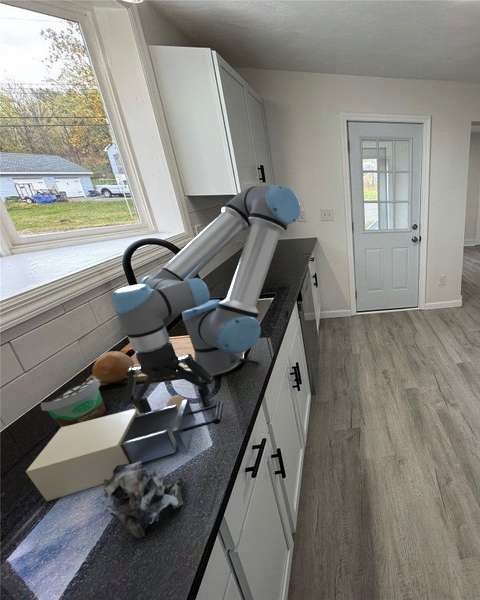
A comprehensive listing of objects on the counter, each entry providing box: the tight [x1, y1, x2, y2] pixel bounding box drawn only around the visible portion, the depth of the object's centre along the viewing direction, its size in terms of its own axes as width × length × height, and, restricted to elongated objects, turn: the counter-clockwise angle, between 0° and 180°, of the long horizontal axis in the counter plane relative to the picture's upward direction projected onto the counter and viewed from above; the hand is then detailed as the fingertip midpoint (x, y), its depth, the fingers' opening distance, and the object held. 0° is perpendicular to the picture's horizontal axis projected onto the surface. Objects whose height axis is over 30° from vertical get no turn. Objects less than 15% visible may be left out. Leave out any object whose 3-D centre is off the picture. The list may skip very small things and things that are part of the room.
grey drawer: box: [120, 398, 224, 465], centre depth 76 cm, size 21×11×7 cm, turn 113°
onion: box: [91, 350, 135, 384], centre depth 102 cm, size 10×10×10 cm
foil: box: [96, 460, 184, 539], centre depth 61 cm, size 12×11×15 cm
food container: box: [40, 375, 106, 428], centre depth 85 cm, size 12×6×10 cm, turn 168°
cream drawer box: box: [25, 407, 140, 502], centre depth 70 cm, size 15×13×9 cm
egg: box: [166, 394, 186, 411], centre depth 86 cm, size 4×4×6 cm
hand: (180, 412), depth 87 cm, fingers open, 12 cm apart
